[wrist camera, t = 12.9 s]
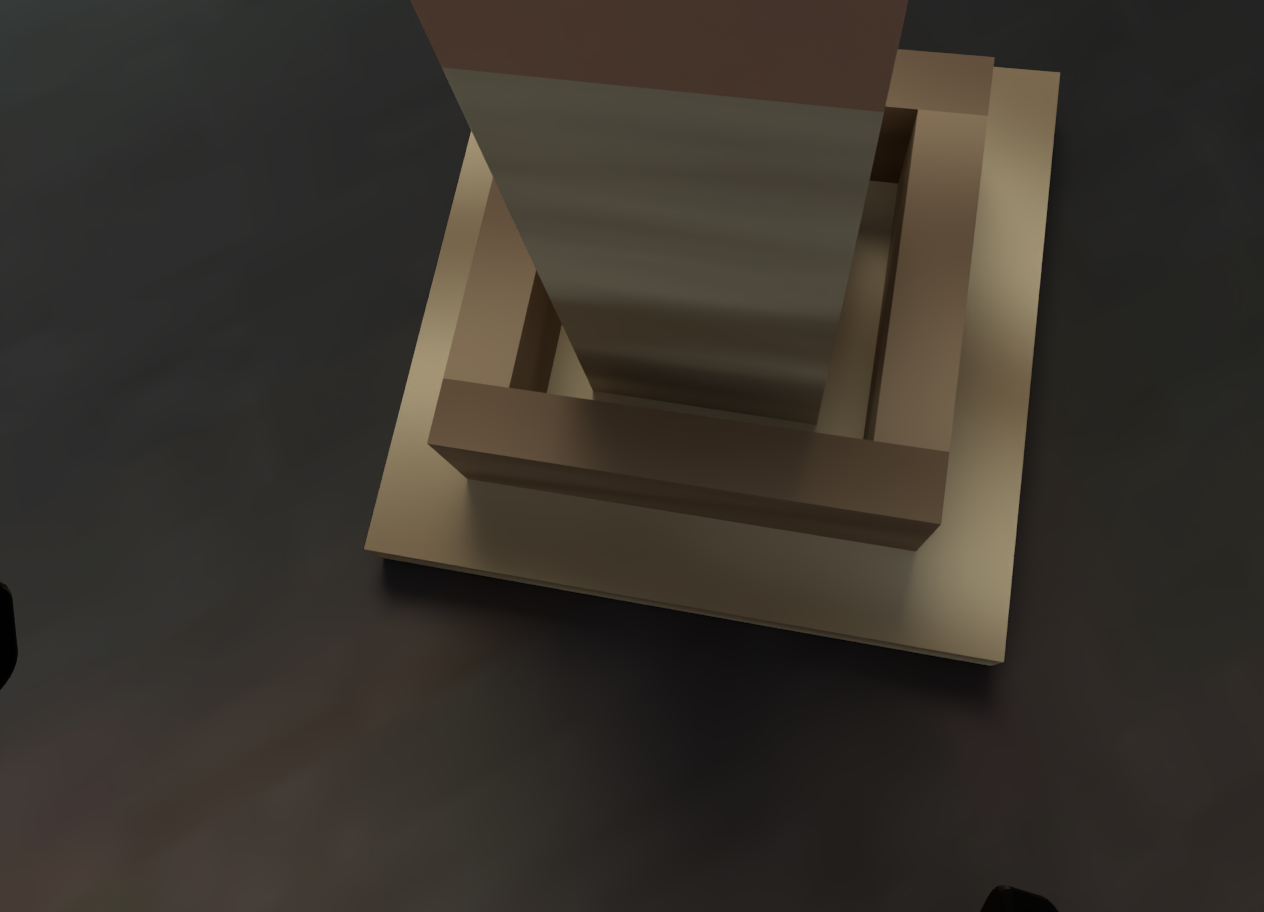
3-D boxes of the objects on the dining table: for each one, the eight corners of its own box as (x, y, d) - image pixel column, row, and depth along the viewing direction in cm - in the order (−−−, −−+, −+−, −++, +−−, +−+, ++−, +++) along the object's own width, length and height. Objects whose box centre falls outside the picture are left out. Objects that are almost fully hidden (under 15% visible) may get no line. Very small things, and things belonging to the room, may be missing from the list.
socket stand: (990, 665, 18) (1044, 652, 15) (382, 557, 20) (309, 524, 17) (1046, 102, 21) (1101, -16, 18) (509, 54, 23) (468, -61, 20)
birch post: (816, 425, 19) (918, -47, 7) (592, 390, 20) (368, -90, 8) (849, 218, 20) (982, -476, 8) (635, 192, 21) (492, -481, 9)
